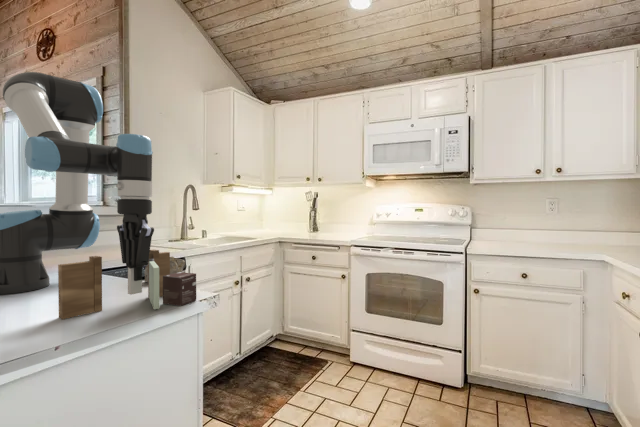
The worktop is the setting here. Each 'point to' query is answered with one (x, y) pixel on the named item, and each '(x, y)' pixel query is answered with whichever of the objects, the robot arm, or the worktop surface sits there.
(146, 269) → the rock
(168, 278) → the box
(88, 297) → the partition
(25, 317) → the worktop surface
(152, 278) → the door
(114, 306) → the worktop surface
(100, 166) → the robot arm
